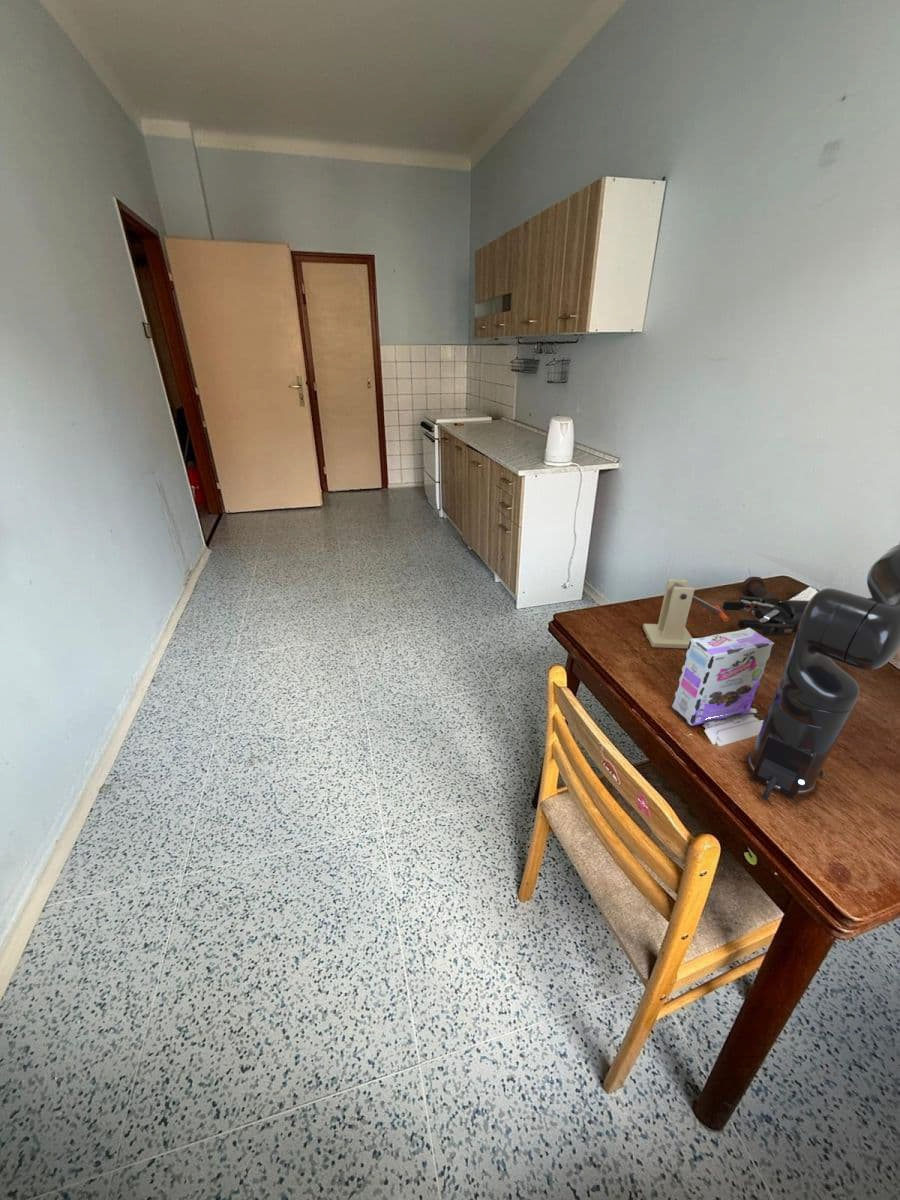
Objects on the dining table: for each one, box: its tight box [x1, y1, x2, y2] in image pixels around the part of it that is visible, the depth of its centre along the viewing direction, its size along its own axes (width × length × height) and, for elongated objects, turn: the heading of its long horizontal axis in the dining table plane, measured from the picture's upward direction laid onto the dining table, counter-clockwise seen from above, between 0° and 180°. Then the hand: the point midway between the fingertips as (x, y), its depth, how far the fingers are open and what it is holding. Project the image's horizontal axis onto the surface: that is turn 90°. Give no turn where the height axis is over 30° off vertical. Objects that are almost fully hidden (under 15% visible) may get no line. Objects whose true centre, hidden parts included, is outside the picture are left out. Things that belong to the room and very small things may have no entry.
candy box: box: [671, 628, 775, 727], centre depth 89 cm, size 14×6×16 cm, turn 105°
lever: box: [670, 582, 730, 623], centre depth 110 cm, size 14×6×2 cm, turn 85°
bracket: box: [642, 578, 696, 649], centre depth 112 cm, size 10×9×15 cm
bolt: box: [741, 576, 781, 605], centre depth 128 cm, size 6×5×15 cm
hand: (731, 614), depth 111 cm, fingers open, 8 cm apart
